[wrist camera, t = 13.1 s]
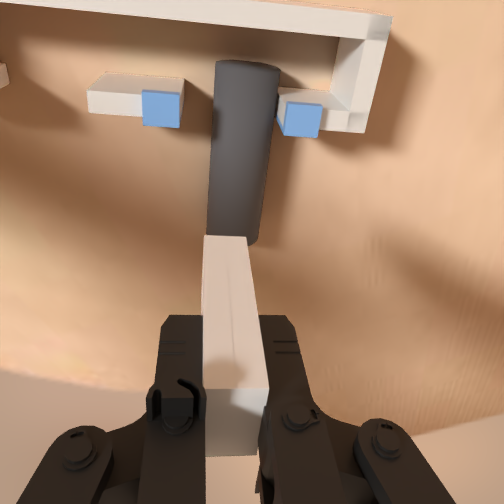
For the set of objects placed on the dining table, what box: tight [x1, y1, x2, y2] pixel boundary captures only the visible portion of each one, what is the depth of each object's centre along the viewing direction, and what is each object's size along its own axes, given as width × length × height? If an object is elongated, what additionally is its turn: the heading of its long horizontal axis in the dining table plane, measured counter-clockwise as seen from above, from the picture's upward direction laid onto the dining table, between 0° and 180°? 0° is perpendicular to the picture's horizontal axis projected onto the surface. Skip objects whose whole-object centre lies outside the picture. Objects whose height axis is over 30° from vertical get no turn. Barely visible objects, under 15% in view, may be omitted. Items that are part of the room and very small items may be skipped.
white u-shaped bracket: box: [0, 0, 393, 138], centre depth 24 cm, size 26×6×6 cm, turn 85°
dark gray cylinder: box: [206, 60, 280, 246], centre depth 29 cm, size 12×4×4 cm, turn 174°
